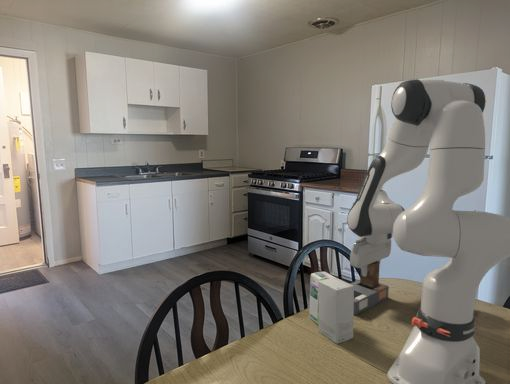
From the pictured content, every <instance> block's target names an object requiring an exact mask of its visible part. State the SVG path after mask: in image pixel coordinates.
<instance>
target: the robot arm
mask: <svg viewBox="0 0 510 384" xmlns="http://www.w3.org/2000/svg"><path fill="white" fill-rule="evenodd" d="M391 97H392V98H391V106H390V107H391V112H392V115H393V116H394V120H393V123H392V125H391V128H390V132H389V136H388V140H387V142H386V144H385V146H384V148H383V149H382V151H381V152H380V154H378V156H377V157H375V158H374V159H373V160H372V161H371V163H370V164H369V166H368V169H367V171H366V174H365V175H364V178H363V181H362V183H361V186H360V189H359V191H358V194H357V196H356V199H355V201H354V203H353V204H352V206H351V207H350V209H349V212H348V213H347V217H346V218H347V219H346V221H347V226H348V229H349V230H351V232H353V234H354V235H356V236H358V238H357V240H355V242H354V244H353V245H352V247H351V250H350V255H349V263H350V266H351V267H353V268H357V269H360V271H361V270H362V276H365V277H366V276H368V275H369V274H368V273H369V271H367V267H368V265H369V264H371V263H374V262H376V261H378V262H380V263H381V260H383V259H387V258H389V256H390V254H391V252H392V251H391V249H392V239H394V242H395V244H396V246H397V247H398V248H399V249H400V250H401V251H403V252H406V253H411V254H413V255H417V256H422V257H438V258H449V260H448V262H446V264H444V265H443V266H441V267H439V268H435V269H433V270H430V271H429V272H428V273H427V274H426V275H425V276H424V278H423V280H422V282H421V283H422V284H421V298H420V299H421V300H420V301H421V302H420V305H419V307H418V310H417V313H416V316H414V317H413V318H412V320H411V325H412V326H413V327H412V329H411V331H410V333H409V335H408V337H407V339H406V341H405V343H404V345H403V347H402V350H401V351H400V353H399V354H398V356H397V357H396V359H395V360H394V362H393V363H392V365H391V366H390V368H389V369H388V371H387V374H386V375H387V376H386V377H387V378H388V380H389V381H390V382H391V383H392V384H486V383H487V382H486V380H485V378H483V377H482V376H481V375H480V361H481V360H480V353H481V352H480V350H481V349H480V347H479V345H478V344H477V342H476V340H475V338H474V333H475V329H476V322H475V321H476V319H475V317H474V311H475V303H476V298H477V292H478V289H479V286H480V284H481V282H482V280H483V278H484V277H485V276H486V275H487V273H489V271H490V270H491V269H492V268H494V267H495V266H496V265H497V264H499V263H500V262H502V261H504V260H506V259H508V258H510V217H509V216H505V215H502V214H501V215H500V214H498V213H492V212H488V211H476V210H475V211H474V210H472V211H471V210H454V209H453V208H454V204H455V202H456V201H457V200H458V199H459V198H461V197H463V196H466V195H469V194H471V193H473V192H475V191H476V190H477V189H479V188H480V187H481V185H482V184H483V182H484V176H485V160H486V159H485V156H486V129H485V120H484V115H483V113H484V111H485V107H486V94H485V92H484V90H483V89H482V88H481V87H479V86H477V85H475V84H472V83H468V82H463V83H461V82H455V81H448V80H444V79H423V80H420V79H417V78H416V79H409V80H404V81H402V82H401V83H399V85H398V86H397V87H396V88H395V90H394V92H393V94H392V96H391ZM428 151H429V160H428V161H429V162H428V170H427V179H426V183H425V184H424V185H425V186H424V188H423V191H422V192H421V194H420V195H419V197H418V198H417V200H416V201H414V202H413V204H412V205H410V206H409V207H407V208H406V209H405V208H404V207H403V206H402V205H401V204H399V203H396V202H394V201H393V200H392V199H391V198H389V196H388V193H387V191H385V190H384V189H382V187H383V186H384V184H386V183H387V182H388V181H390V180H391V179H393V178H396V177H398V176H400V175H402V174H405V173H408V172H411V171H413V170H415V169H417V168H418V167H419V166H420V165H421V164H422V163H423V161H424V160H425V158H426V157H427V154H428Z"/></svg>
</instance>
